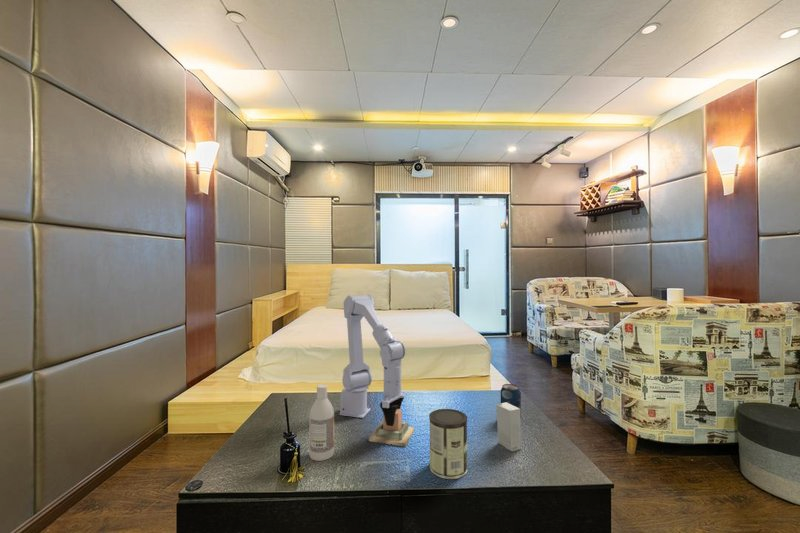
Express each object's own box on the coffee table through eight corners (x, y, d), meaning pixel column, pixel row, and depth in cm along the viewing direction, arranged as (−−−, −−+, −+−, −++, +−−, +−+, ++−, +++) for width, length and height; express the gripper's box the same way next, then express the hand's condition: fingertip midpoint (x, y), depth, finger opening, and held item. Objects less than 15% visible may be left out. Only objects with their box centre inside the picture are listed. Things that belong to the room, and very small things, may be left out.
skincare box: (522, 449, 103) (522, 408, 103) (510, 452, 101) (510, 411, 101) (507, 439, 109) (507, 401, 109) (496, 443, 107) (496, 403, 107)
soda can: (509, 426, 118) (509, 391, 119) (496, 418, 125) (496, 384, 125) (525, 422, 121) (525, 388, 121) (511, 414, 128) (511, 382, 128)
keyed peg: (383, 434, 110) (383, 412, 110) (387, 428, 114) (387, 407, 114) (398, 436, 109) (398, 414, 109) (401, 430, 113) (401, 409, 113)
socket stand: (368, 441, 108) (368, 431, 108) (380, 425, 118) (380, 417, 118) (405, 446, 104) (405, 436, 104) (414, 430, 115) (414, 421, 115)
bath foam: (335, 459, 98) (336, 388, 98) (310, 463, 95) (310, 391, 95) (331, 447, 104) (332, 380, 104) (308, 451, 102) (308, 383, 102)
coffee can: (446, 453, 101) (446, 405, 101) (475, 469, 93) (475, 416, 93) (421, 467, 94) (421, 415, 94) (450, 485, 86) (450, 428, 86)
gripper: (397, 388, 103) (397, 433, 103) (410, 374, 117) (410, 414, 117) (375, 386, 105) (375, 430, 105) (390, 372, 119) (390, 411, 119)
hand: (392, 421), depth 111 cm, fingers open, 4 cm apart
